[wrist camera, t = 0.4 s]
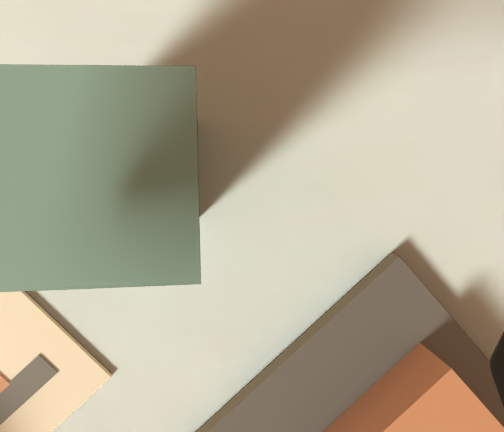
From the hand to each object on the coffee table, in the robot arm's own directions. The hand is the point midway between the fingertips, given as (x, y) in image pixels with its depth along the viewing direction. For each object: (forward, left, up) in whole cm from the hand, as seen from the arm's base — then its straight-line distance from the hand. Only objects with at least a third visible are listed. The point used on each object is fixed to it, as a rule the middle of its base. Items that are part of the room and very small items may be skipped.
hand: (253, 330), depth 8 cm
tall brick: (-1, +4, -15) cm, 15 cm away
